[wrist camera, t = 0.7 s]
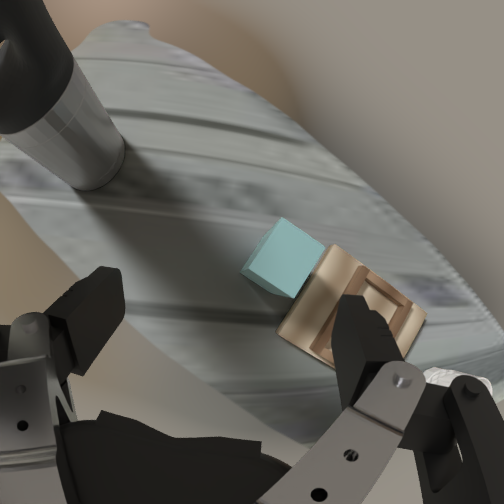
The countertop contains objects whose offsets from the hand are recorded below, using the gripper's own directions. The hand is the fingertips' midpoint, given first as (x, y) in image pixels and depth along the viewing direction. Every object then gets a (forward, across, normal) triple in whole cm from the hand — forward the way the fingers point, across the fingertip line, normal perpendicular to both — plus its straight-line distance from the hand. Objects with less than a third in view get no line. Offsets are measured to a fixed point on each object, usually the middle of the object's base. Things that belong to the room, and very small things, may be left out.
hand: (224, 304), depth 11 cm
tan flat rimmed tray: (+22, -13, +15) cm, 30 cm away
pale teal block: (+24, -2, +9) cm, 26 cm away
